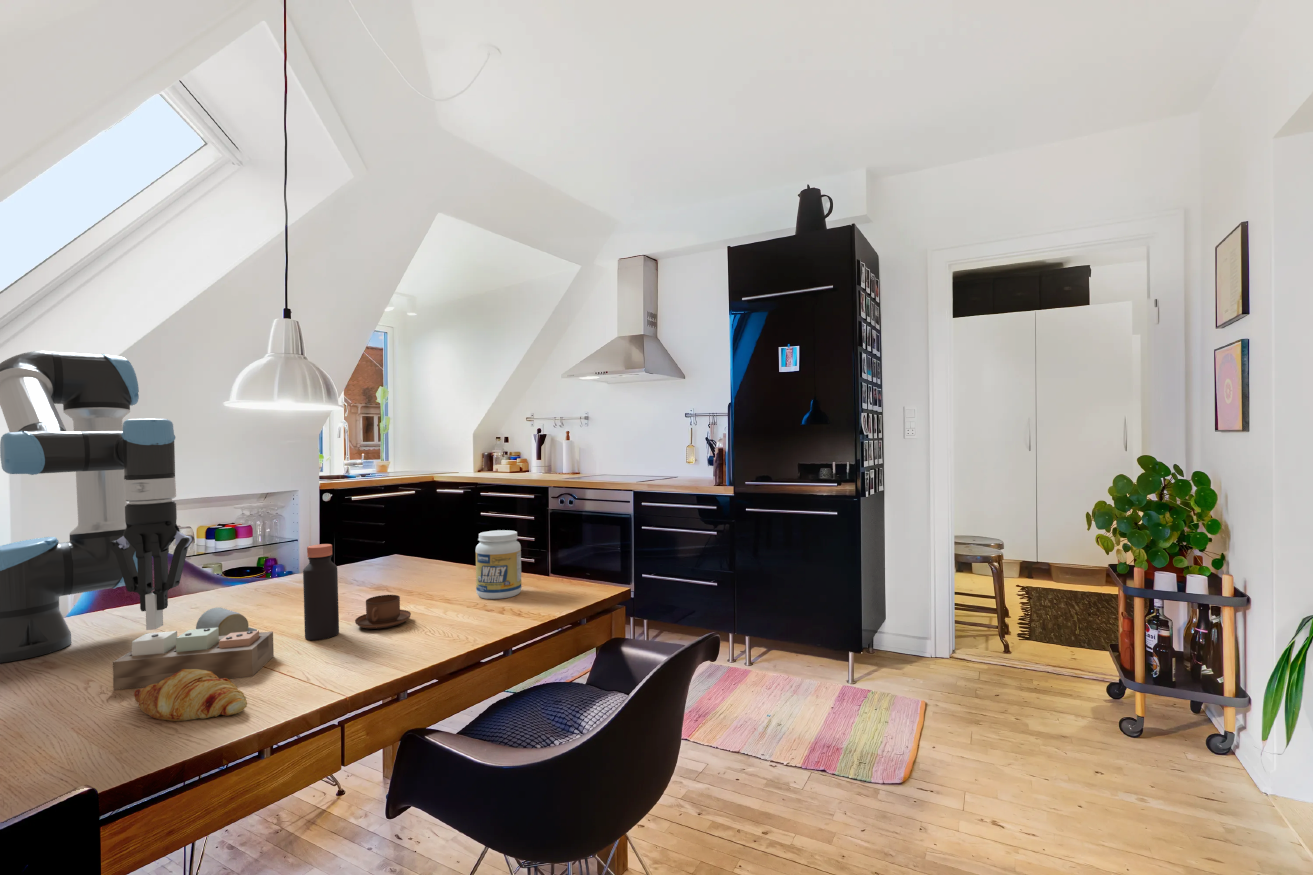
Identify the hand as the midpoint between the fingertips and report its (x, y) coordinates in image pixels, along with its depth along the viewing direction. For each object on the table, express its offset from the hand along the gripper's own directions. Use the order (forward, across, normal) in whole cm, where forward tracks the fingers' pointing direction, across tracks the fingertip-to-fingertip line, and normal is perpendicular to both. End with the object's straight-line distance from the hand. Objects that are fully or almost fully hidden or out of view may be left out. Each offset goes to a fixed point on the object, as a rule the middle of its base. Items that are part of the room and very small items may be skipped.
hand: (154, 627), depth 118 cm
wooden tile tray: (+9, +7, 0) cm, 11 cm away
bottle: (+9, +24, +17) cm, 31 cm away
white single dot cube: (+5, 0, 0) cm, 5 cm away
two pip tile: (+5, +7, 0) cm, 9 cm away
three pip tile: (+7, +14, 0) cm, 15 cm away
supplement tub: (+9, +62, +42) cm, 75 cm away
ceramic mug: (+9, +5, +19) cm, 22 cm away
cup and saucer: (+10, +36, +22) cm, 43 cm away
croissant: (+10, +14, -20) cm, 26 cm away
